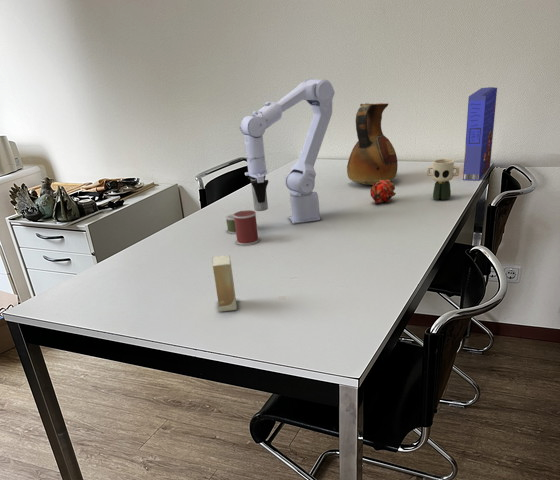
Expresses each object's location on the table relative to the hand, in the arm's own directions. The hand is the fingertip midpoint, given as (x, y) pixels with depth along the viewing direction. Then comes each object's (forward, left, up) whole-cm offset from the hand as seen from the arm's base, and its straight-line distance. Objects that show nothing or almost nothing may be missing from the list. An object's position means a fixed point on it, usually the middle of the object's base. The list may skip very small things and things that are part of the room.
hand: (260, 200), depth 194 cm
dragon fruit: (-45, -12, -10) cm, 48 cm away
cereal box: (-92, -34, -10) cm, 98 cm away
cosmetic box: (+18, +58, -10) cm, 61 cm away
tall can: (+7, +10, -10) cm, 15 cm away
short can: (+9, -3, -10) cm, 13 cm away
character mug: (-66, -7, -10) cm, 67 cm away
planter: (0, 0, -3) cm, 3 cm away
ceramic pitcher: (-50, -40, -10) cm, 65 cm away
